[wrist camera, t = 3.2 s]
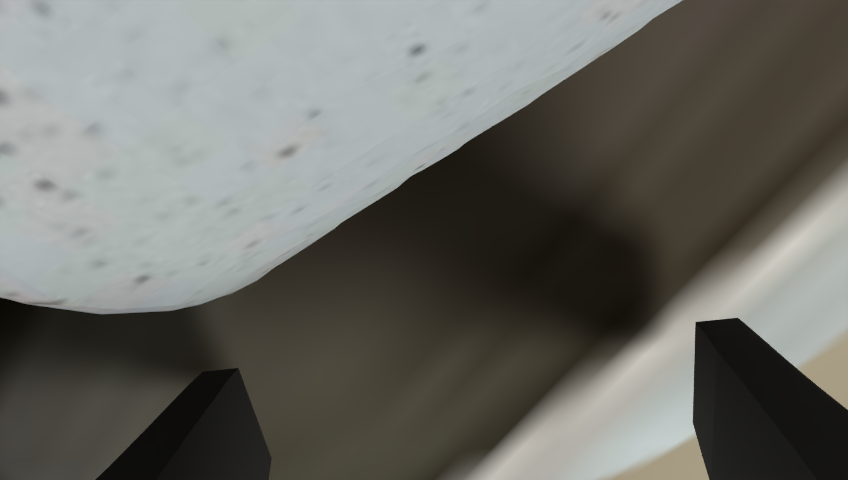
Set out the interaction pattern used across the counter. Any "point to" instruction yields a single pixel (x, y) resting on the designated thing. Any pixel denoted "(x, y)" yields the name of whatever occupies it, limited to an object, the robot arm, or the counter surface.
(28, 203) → the ceramic mug
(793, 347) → the counter surface
